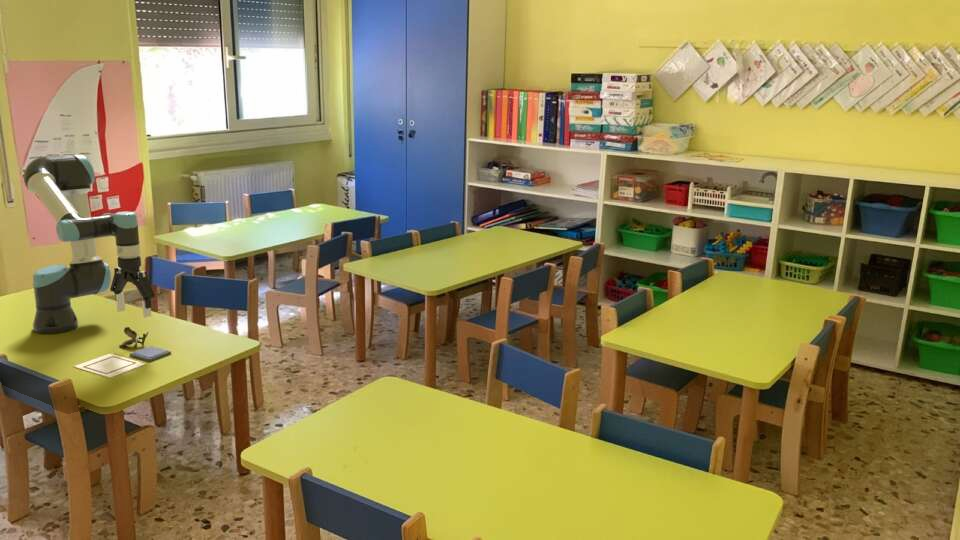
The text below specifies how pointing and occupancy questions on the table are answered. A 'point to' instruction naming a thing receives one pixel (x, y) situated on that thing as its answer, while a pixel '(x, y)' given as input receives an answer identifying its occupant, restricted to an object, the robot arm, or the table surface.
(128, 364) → the print sheet
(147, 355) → the ink pad
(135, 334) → the eagle figurine
